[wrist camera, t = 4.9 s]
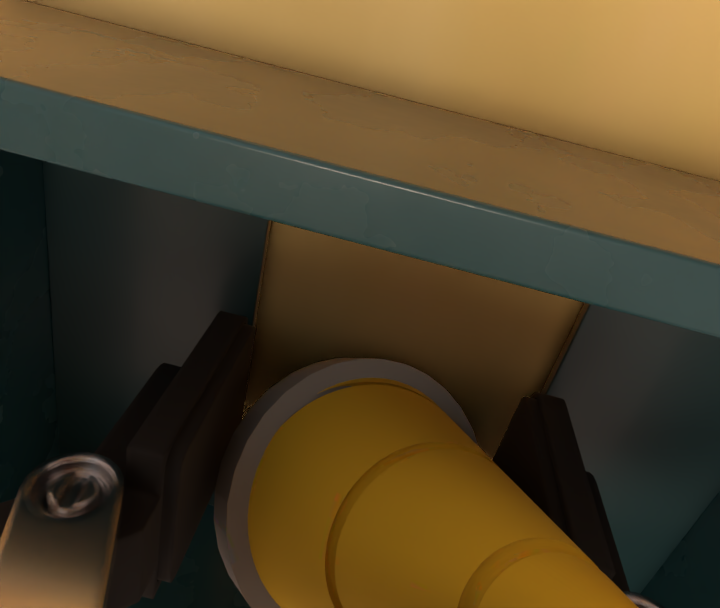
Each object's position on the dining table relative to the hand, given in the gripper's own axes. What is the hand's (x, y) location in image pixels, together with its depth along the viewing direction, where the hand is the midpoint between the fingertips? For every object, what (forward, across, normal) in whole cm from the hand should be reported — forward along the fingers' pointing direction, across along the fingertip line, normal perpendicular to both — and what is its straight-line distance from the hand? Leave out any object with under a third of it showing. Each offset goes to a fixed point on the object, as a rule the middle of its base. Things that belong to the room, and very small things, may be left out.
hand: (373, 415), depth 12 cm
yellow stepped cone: (+1, 0, 0) cm, 1 cm away
